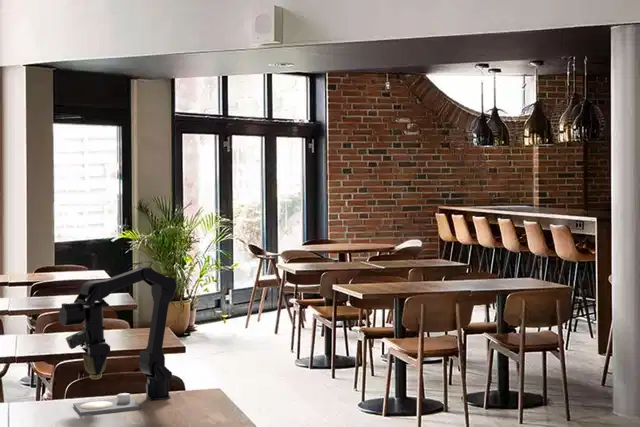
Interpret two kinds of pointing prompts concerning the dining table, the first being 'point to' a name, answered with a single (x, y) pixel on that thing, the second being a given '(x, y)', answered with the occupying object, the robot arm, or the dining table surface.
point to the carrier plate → (107, 405)
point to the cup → (92, 366)
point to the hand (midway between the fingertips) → (95, 372)
